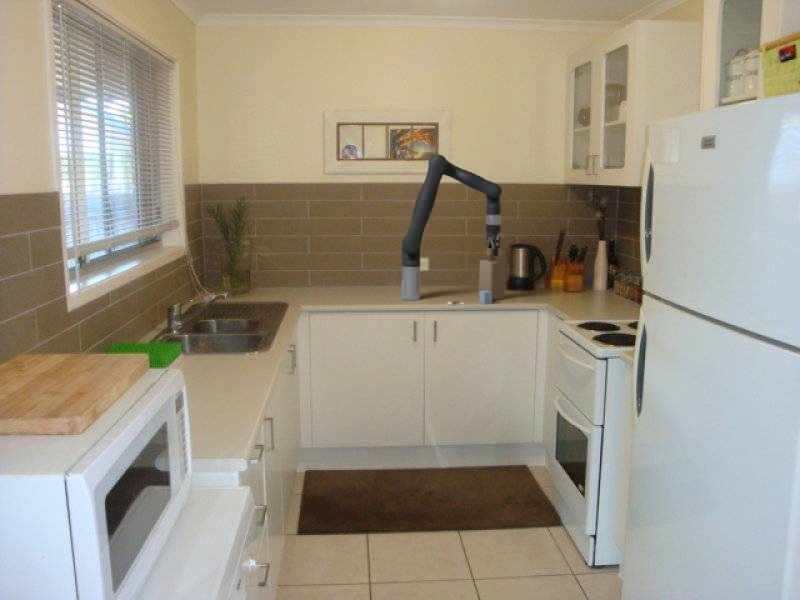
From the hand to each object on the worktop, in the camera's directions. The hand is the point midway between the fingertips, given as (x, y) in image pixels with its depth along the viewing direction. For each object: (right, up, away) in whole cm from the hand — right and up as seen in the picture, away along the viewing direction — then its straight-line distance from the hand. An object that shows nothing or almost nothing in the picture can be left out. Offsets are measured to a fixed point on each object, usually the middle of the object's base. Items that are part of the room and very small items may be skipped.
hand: (492, 255), depth 362 cm
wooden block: (0, -22, +4) cm, 23 cm away
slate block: (-5, -25, -8) cm, 26 cm away
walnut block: (0, -3, +1) cm, 3 cm away
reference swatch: (-20, -25, -9) cm, 33 cm away
